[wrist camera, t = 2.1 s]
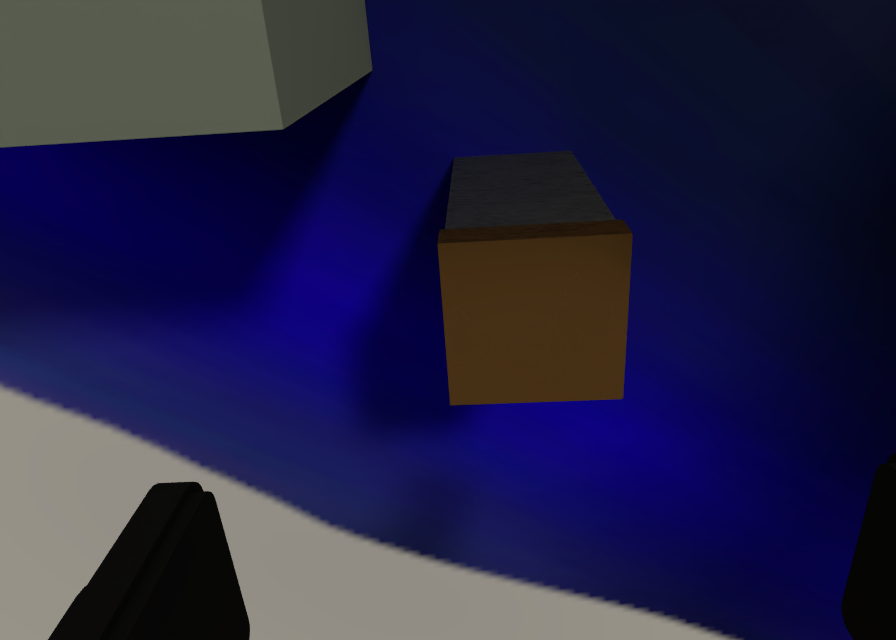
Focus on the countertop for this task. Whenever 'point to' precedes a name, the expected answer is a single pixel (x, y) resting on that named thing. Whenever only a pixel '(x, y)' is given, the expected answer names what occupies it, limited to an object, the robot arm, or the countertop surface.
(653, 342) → the countertop surface
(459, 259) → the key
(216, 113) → the grey hollow block
